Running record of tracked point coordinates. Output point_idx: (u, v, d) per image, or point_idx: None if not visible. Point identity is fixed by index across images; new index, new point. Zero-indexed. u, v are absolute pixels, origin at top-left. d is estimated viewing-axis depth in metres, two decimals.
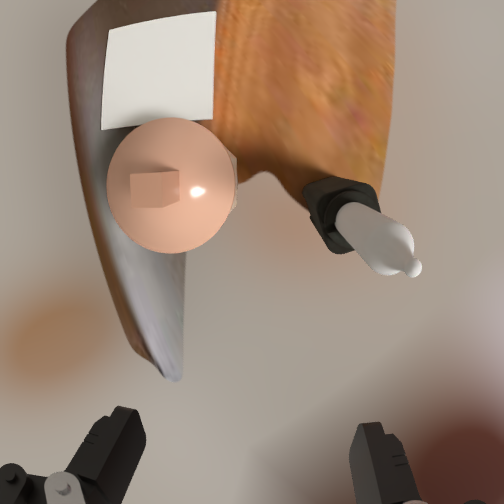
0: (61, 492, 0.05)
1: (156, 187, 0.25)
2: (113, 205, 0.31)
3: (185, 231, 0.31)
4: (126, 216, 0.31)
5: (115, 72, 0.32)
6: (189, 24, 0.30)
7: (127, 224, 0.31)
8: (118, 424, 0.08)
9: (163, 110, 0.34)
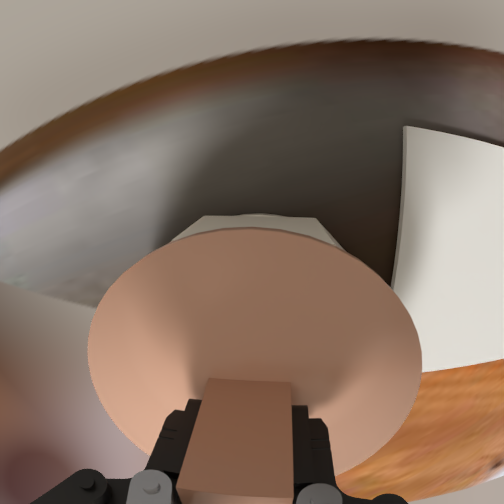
0: (152, 492, 0.06)
1: None
2: (188, 254, 0.10)
3: (147, 424, 0.12)
4: (158, 299, 0.10)
5: None
6: None
7: (135, 300, 0.10)
8: (195, 416, 0.09)
9: (416, 289, 0.16)
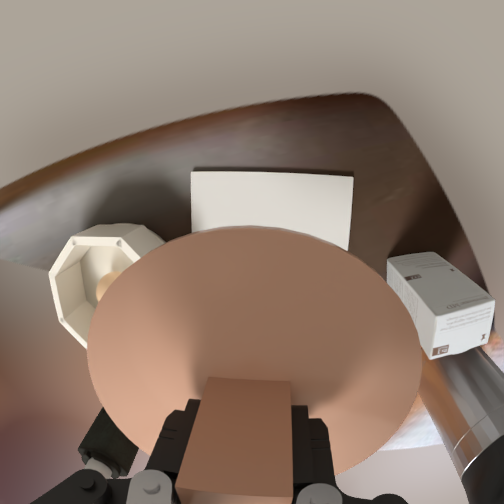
0: (152, 492, 0.06)
1: None
2: (188, 253, 0.10)
3: (146, 423, 0.12)
4: (157, 298, 0.10)
5: (275, 192, 0.28)
6: None
7: (134, 299, 0.10)
8: (195, 416, 0.09)
9: None
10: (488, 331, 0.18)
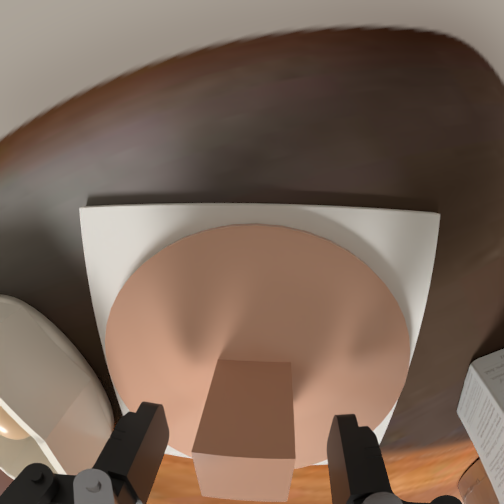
0: (92, 490, 0.06)
1: (249, 495, 0.08)
2: (202, 247, 0.11)
3: None
4: (173, 287, 0.12)
5: None
6: None
7: (152, 288, 0.12)
8: (145, 419, 0.09)
9: None
10: None
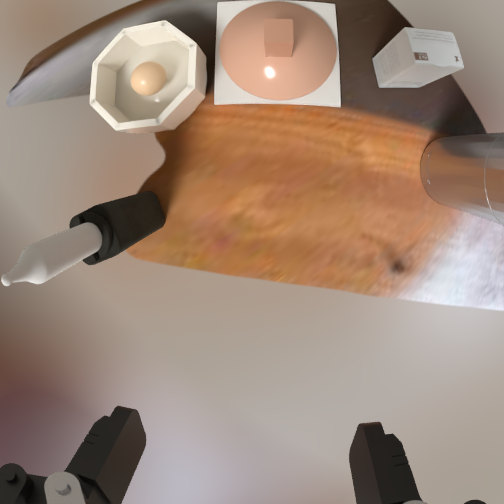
0: (61, 492, 0.05)
1: (280, 38, 0.26)
2: (261, 5, 0.29)
3: (238, 60, 0.31)
4: (252, 15, 0.29)
5: None
6: (326, 80, 0.32)
7: (244, 16, 0.30)
8: (118, 424, 0.08)
9: None
10: (459, 55, 0.20)
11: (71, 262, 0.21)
